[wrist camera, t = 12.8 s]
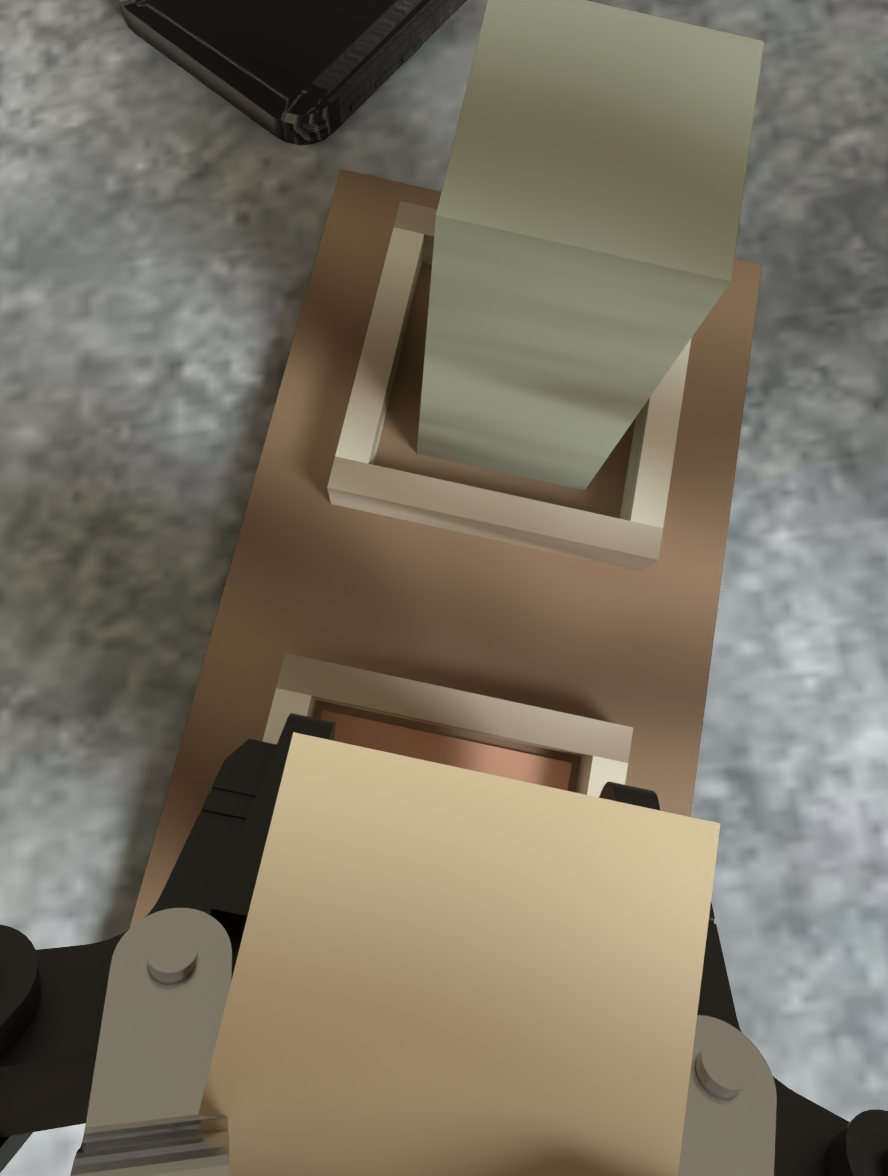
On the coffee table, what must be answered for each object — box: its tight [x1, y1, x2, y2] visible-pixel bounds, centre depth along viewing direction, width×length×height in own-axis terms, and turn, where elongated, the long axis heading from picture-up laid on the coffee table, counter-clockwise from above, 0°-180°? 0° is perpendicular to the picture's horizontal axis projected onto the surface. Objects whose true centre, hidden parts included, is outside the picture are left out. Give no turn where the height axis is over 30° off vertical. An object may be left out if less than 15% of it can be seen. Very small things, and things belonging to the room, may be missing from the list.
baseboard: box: [129, 0, 764, 929], centre depth 16 cm, size 23×12×10 cm, turn 168°
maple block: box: [198, 732, 720, 1176], centre depth 12 cm, size 4×4×9 cm
